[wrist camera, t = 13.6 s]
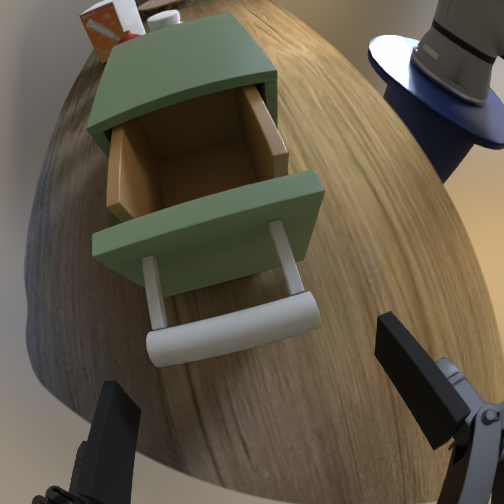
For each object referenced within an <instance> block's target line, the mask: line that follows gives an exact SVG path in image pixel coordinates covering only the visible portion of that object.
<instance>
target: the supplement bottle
mask: <svg viewBox="0 0 504 504" xmlns="http://www.w3.org/2000/svg"><path fill="white" fill-rule="evenodd" d="M179 20H180V16H179V12H178V10H168V11H164V12H161V13H158V14H156V15H153V16H151V17H150V18H148V19H147V23H148V26H149V28H150V29H151V30H152V31H155V30H158V29H162V28H165V27H168V26H171V25H175V24H178V23H182V22H179ZM152 31H151V32H152Z"/></svg>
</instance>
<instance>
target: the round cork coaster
mask: <svg viewBox="0 0 504 504" xmlns="http://www.w3.org/2000/svg"><path fill="white" fill-rule="evenodd" d="M195 1H196V0H150V1H148V2H146V3H144V4H142V5H141V6H139V7H138V8H137V9H138V12H139V15H140V17H141V18H149V17H151V16H153V15H156V14H158V13H161V12H164V11H168V10H179V9H181V8H184V7H187V6H189V5H191V4H193V3H194V2H195Z"/></svg>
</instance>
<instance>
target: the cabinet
mask: <svg viewBox="0 0 504 504" xmlns="http://www.w3.org/2000/svg"><path fill="white" fill-rule="evenodd" d="M252 84H254V85H255V87H256V89H257V91H258V92H259V94H260V96H261V98H262V100H263V102H264V104H265V106H266V108H267V110H268V112H269V114H270V116H271V117H272V119H273V121H274V123H275V125H276V127H277V130H278V103H277V69H276V68H275V66H274V65H273V64H272V62H271V61H270V60H269V58H268V57H267V56H266V54H265V53H264V52H263V51H262V49H261V48H260V47H259V45H258V44H257V43H256V42H255V40H254V39H253V38H252V37H251V36H250V34H249V33H248V32H247V31H246V30H245V28H244V27H243V26H242V25H241V24H240V22H239V21H238V20H237V19H236V18H235V17H234V16H233V15H232V13H231V12H227V13H222V14H216V15H211V16H207V17H202V18H198V19H194V20H189V21H186V22H182V23H178V24H175V25H171V26H168V27H165V28H162V29H158V30H155V31H152V32H150V33H147V34H144V35H141V36H139V37H136V38H133V39H131V40H128V41H126V42H123V43H121V44H119V45H116V46H114V47H113V48H112V51H111V53H110V55H109V58H108V61H107V63H106V66H105V69H104V71H103V74H102V77H101V80H100V83H99V86H98V89H97V92H96V95H95V99H94V102H93V105H92V109H91V113H90V116H89V120H88V124H87V128H86V129H87V130H88V132H89V133H90V135H91V136H93V139H94V140H95V141H96V143H97V144H98V146H99V147H100V148H101V150H102V151H103V152H104V154H105V155H106V157H107V158H108V159H109V154H110V144H111V136H112V129H113V127H114V126H117V125H119V124H121V123H124V122H126V121H129V120H131V119H134V118H136V117H139V116H141V115H144V114H147V113H150V112H152V111H155V110H158V109H161V108H164V107H167V106H170V105H173V104H176V103H179V102H183V101H186V100H189V99H193V98H196V97H200V96H204V95H207V94H211V93H215V92H219V91H223V90H228V89H232V88H237V87H242V86H247V85H252Z"/></svg>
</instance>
